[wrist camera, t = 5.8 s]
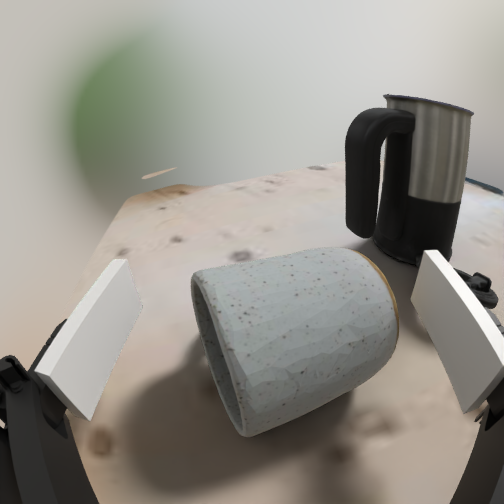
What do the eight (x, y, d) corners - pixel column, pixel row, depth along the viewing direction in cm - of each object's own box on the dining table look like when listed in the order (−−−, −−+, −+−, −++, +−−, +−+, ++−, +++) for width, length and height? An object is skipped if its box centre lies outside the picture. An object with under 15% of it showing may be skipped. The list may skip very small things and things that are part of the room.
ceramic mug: (387, 389, 13) (432, 273, 9) (250, 461, 10) (226, 368, 6) (294, 293, 21) (293, 195, 18) (190, 326, 19) (165, 223, 15)
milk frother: (398, 219, 32) (407, 100, 24) (507, 270, 20) (537, 133, 13) (323, 257, 25) (326, 86, 18) (476, 348, 14) (544, 123, 6)
